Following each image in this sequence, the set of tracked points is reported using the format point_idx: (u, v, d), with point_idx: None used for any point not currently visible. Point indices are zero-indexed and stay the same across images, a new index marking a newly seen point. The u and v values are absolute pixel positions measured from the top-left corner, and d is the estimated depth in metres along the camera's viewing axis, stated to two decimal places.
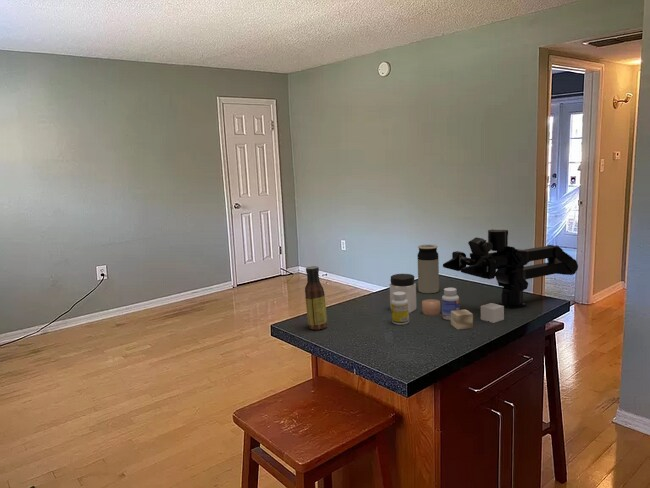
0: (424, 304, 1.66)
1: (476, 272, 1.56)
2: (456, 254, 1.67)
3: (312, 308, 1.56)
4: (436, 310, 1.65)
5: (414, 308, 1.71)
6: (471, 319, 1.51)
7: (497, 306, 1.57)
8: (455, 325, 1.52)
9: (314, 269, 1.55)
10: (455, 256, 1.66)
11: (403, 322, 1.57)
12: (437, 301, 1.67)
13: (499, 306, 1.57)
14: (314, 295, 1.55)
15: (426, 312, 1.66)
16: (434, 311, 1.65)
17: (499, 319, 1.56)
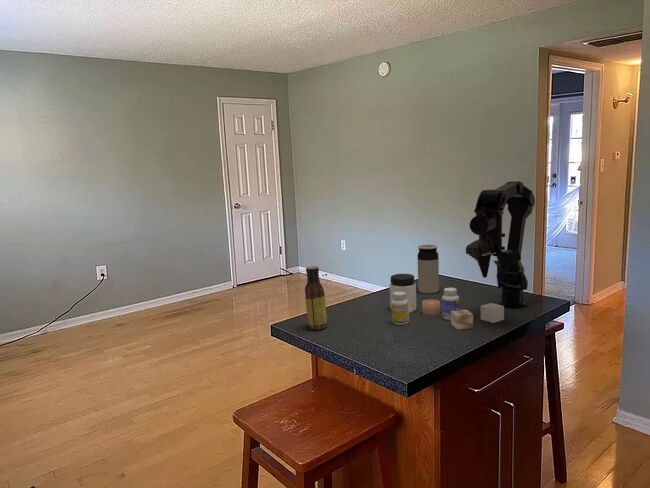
0: (424, 304, 1.66)
1: (505, 266, 1.51)
2: (475, 257, 1.58)
3: (312, 308, 1.56)
4: (436, 310, 1.65)
5: (414, 308, 1.71)
6: (471, 319, 1.51)
7: (497, 306, 1.57)
8: (455, 325, 1.52)
9: (314, 269, 1.55)
10: (476, 259, 1.58)
11: (403, 322, 1.57)
12: (437, 301, 1.67)
13: (499, 306, 1.57)
14: (314, 295, 1.55)
15: (426, 312, 1.66)
16: (434, 311, 1.65)
17: (499, 319, 1.56)
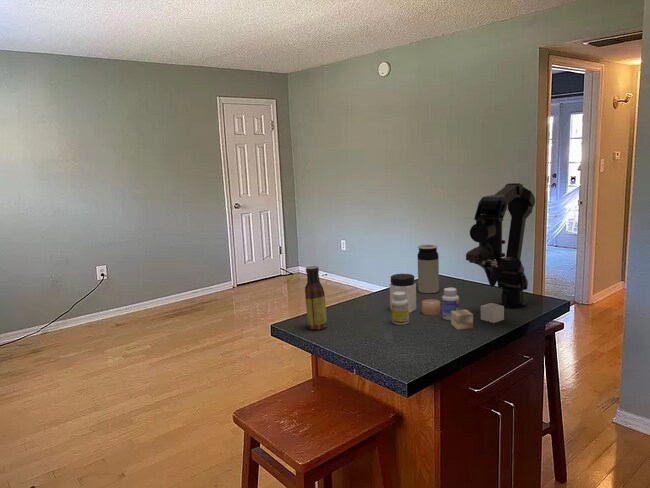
0: (424, 304, 1.66)
1: (498, 271, 1.55)
2: (482, 266, 1.56)
3: (312, 308, 1.56)
4: (436, 310, 1.65)
5: (414, 308, 1.71)
6: (471, 319, 1.51)
7: (497, 306, 1.57)
8: (455, 325, 1.52)
9: (314, 269, 1.55)
10: (483, 267, 1.56)
11: (403, 322, 1.57)
12: (437, 301, 1.67)
13: (499, 306, 1.57)
14: (314, 295, 1.55)
15: (426, 311, 1.66)
16: (434, 311, 1.65)
17: (499, 319, 1.56)
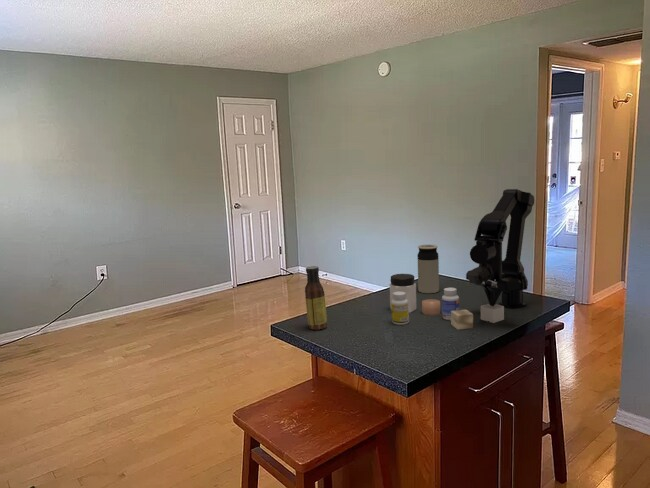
0: (424, 304, 1.66)
1: (498, 291, 1.56)
2: (482, 286, 1.57)
3: (312, 308, 1.56)
4: (436, 310, 1.65)
5: (414, 308, 1.71)
6: (471, 319, 1.51)
7: (497, 306, 1.57)
8: (455, 325, 1.52)
9: (314, 269, 1.55)
10: (483, 287, 1.57)
11: (403, 322, 1.57)
12: (437, 301, 1.67)
13: (499, 306, 1.57)
14: (314, 295, 1.55)
15: (426, 311, 1.66)
16: (434, 311, 1.65)
17: (499, 319, 1.56)
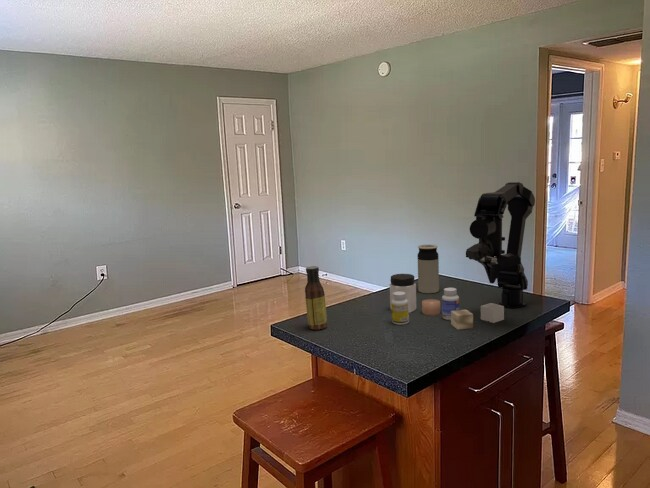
0: (424, 304, 1.66)
1: (498, 268, 1.54)
2: (481, 262, 1.55)
3: (312, 308, 1.56)
4: (436, 310, 1.65)
5: (414, 308, 1.71)
6: (471, 319, 1.51)
7: (497, 306, 1.57)
8: (455, 325, 1.52)
9: (314, 269, 1.55)
10: (483, 264, 1.56)
11: (403, 322, 1.57)
12: (437, 301, 1.67)
13: (499, 306, 1.57)
14: (314, 295, 1.55)
15: (426, 312, 1.66)
16: (434, 311, 1.65)
17: (499, 319, 1.56)
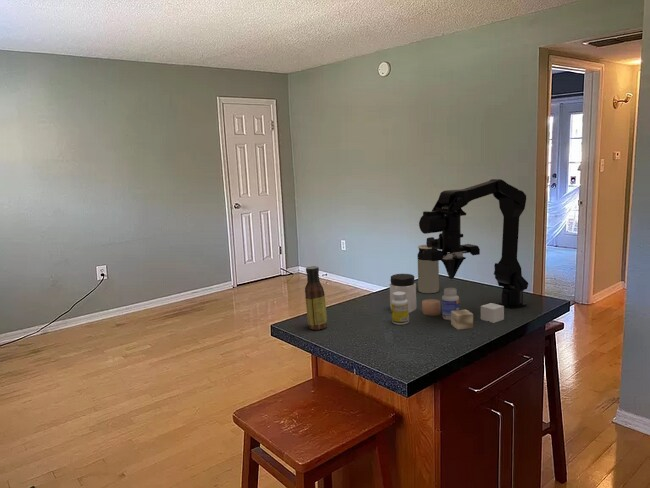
0: (424, 304, 1.66)
1: (449, 265, 1.57)
2: None
3: (312, 308, 1.56)
4: (436, 310, 1.65)
5: (414, 308, 1.71)
6: (471, 319, 1.51)
7: (497, 306, 1.57)
8: (455, 325, 1.52)
9: (314, 269, 1.55)
10: None
11: (403, 322, 1.57)
12: (437, 301, 1.67)
13: (499, 306, 1.57)
14: (314, 295, 1.55)
15: (426, 312, 1.66)
16: (434, 311, 1.65)
17: (499, 319, 1.56)
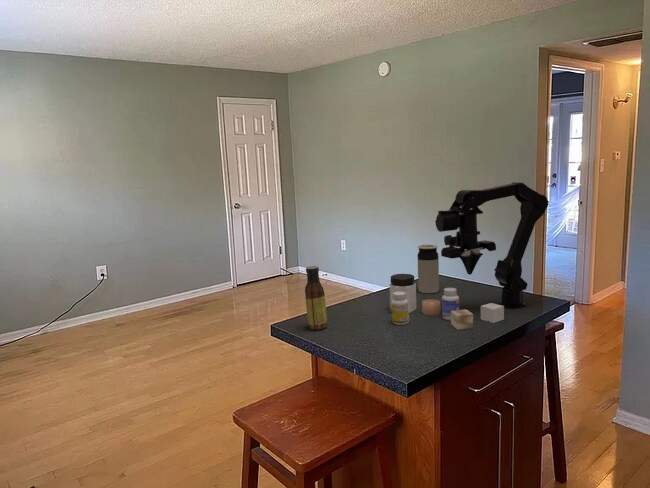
0: (424, 304, 1.66)
1: (467, 261, 1.64)
2: None
3: (312, 308, 1.56)
4: (436, 310, 1.65)
5: (414, 308, 1.71)
6: (471, 319, 1.51)
7: (497, 306, 1.57)
8: (455, 325, 1.52)
9: (314, 269, 1.55)
10: None
11: (403, 322, 1.57)
12: (437, 301, 1.67)
13: (499, 306, 1.57)
14: (314, 295, 1.55)
15: (426, 311, 1.66)
16: (434, 311, 1.65)
17: (499, 319, 1.56)
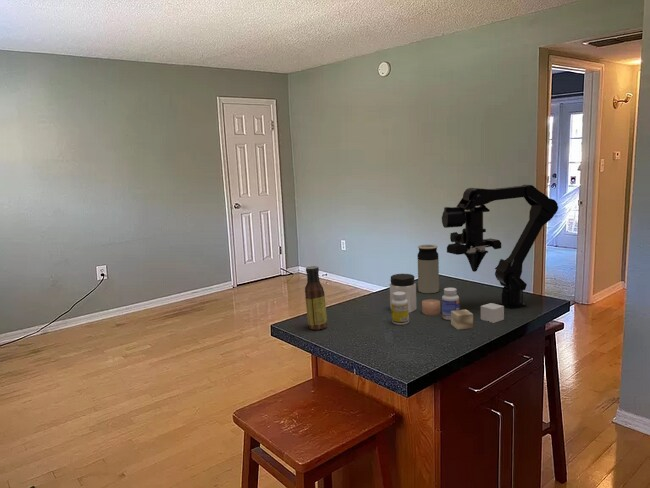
0: (424, 304, 1.66)
1: (472, 258, 1.66)
2: None
3: (312, 308, 1.56)
4: (436, 310, 1.65)
5: (414, 308, 1.71)
6: (471, 319, 1.51)
7: (497, 306, 1.57)
8: (455, 325, 1.52)
9: (314, 269, 1.55)
10: None
11: (403, 322, 1.57)
12: (437, 301, 1.67)
13: (499, 306, 1.57)
14: (314, 295, 1.55)
15: (426, 312, 1.66)
16: (434, 311, 1.65)
17: (499, 319, 1.56)
